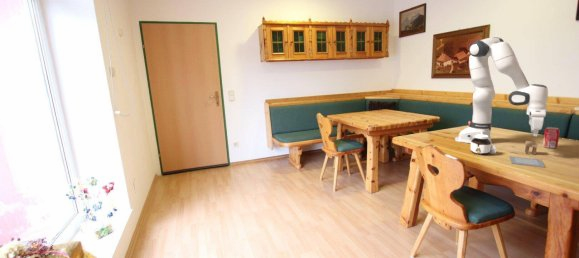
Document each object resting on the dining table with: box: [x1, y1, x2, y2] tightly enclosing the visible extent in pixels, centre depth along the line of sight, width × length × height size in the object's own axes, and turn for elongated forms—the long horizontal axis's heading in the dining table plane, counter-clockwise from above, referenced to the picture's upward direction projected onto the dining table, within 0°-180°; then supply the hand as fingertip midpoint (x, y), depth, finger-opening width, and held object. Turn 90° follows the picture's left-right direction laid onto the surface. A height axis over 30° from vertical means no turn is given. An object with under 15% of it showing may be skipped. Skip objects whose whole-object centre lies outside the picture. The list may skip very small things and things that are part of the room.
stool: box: [524, 140, 539, 156], centre depth 172 cm, size 5×5×7 cm
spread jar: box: [470, 134, 497, 156], centre depth 176 cm, size 12×11×12 cm
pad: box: [509, 155, 546, 168], centre depth 159 cm, size 14×14×1 cm
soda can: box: [542, 126, 561, 150], centre depth 181 cm, size 7×7×13 cm
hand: (534, 134), depth 170 cm, fingers open, 8 cm apart
